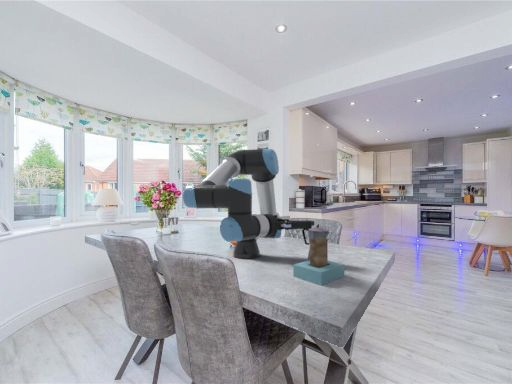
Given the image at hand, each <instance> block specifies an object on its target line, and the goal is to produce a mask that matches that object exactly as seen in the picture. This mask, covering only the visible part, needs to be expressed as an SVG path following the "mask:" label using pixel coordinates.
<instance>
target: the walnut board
mask: <svg viewBox="0 0 512 384" xmlns="http://www.w3.org/2000/svg"><path fill="white" fill-rule="evenodd" d="M328 242H329V241H328V237H327V238H321V237H319V238H313V239H310V244H309V249H310V266H313V267H316V268H321V267H324V266H327V265H328V261H329V260H328V259H329V258H328V256H329V255H328V254H329V253H328V252H329V251H328Z"/></svg>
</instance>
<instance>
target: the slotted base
mask: <svg viewBox="0 0 512 384" xmlns="http://www.w3.org/2000/svg"><path fill="white" fill-rule="evenodd" d="M292 267H293V270H292V271H293V277H294V278H297V279H300V280H303V281H307V282H310V283H312V284H316V285H317V286H318V285H319V286H324V285H326V284H328V283H332V282H333V281H336V280H339V279H341V278H342V277H345V264H344V263H340V262H335V261H330V260H328V265H327V266H324V267H321V268H316V267H313V266H310V260H308V261H307V260H305V261H301V262H298V263H294V264H293V266H292Z"/></svg>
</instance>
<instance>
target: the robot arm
mask: <svg viewBox="0 0 512 384" xmlns="http://www.w3.org/2000/svg"><path fill="white" fill-rule="evenodd" d="M278 174H279V160H278V155H277V153H276V151H275V150H274V149H272V148H261V149H255V148H254V149H240V150H236V151H234V152H232V153H230V154H227V155H226V156H225V157H223V159H221V160H220V162H219V165H218V166H216V168H215V169H214V170H212V172H210V173H209V174H208V175H207V176H206V177H205V178H204V179H203V180H202V181H200V183H198V184H191V185H187V186H185V188H184V189H183V193H182V200H183V203H184V205H185V206H186V207H187V208H190V209H227V216H226V217H224V218H223V219H222V220H221V221H220V225H219V232H220V235H221V237H222V239H223V240H224V241H226V242H227V243H230V242H231V243H232V242H235V245H234V249H233V253H232V255H233V257H234V258H237V259H242V260H243V259H256V258H258V257H260V256H261V254H260V253H261V252H260V249H259V246H258V242H257V240H258V239H259V238H260V239H261V238H262V239H263V238H264V239H280V238H281V237H282V230H285V231H289V230H290V231H291V230H303V229H307V230H309V229H311V228H314V227H316V226H318V224H319V223H318V218H316V217H315V218H310V219H304V220H291V215H283V216H282V215H281V216H280V214H279V213H278V212H277V206H276V205H277V204H276V195H275V194H276V193H275V184H274V179H275V178H276V176H277V175H278ZM237 176H251V179H252V180H250V179H249V178H235V177H237ZM252 181H254V182H255V187H256V193H257V199H258V205H259V213H260V214H253V210H252V209H253V206H252V205H253V191H252ZM307 230H306V231H307Z"/></svg>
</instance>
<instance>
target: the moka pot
mask: <svg viewBox="0 0 512 384" xmlns="http://www.w3.org/2000/svg"><path fill="white" fill-rule="evenodd" d="M305 231H306V232H308V241H307V237H306V233H305ZM301 233H302V236H303V241H304V244H305V245H307V246H310V239H313V238H319V237H321V238H327V239H328V236H329V234H330V231H329V230H327V229H325V228H323V227H320V224H319V223H318V226H314V227H312V228H311V229H309V230H307V229H301ZM308 250H309V251H308V254H307V255H308V256H307V260H306V261H308V260H310V248H309V249H308Z"/></svg>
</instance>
